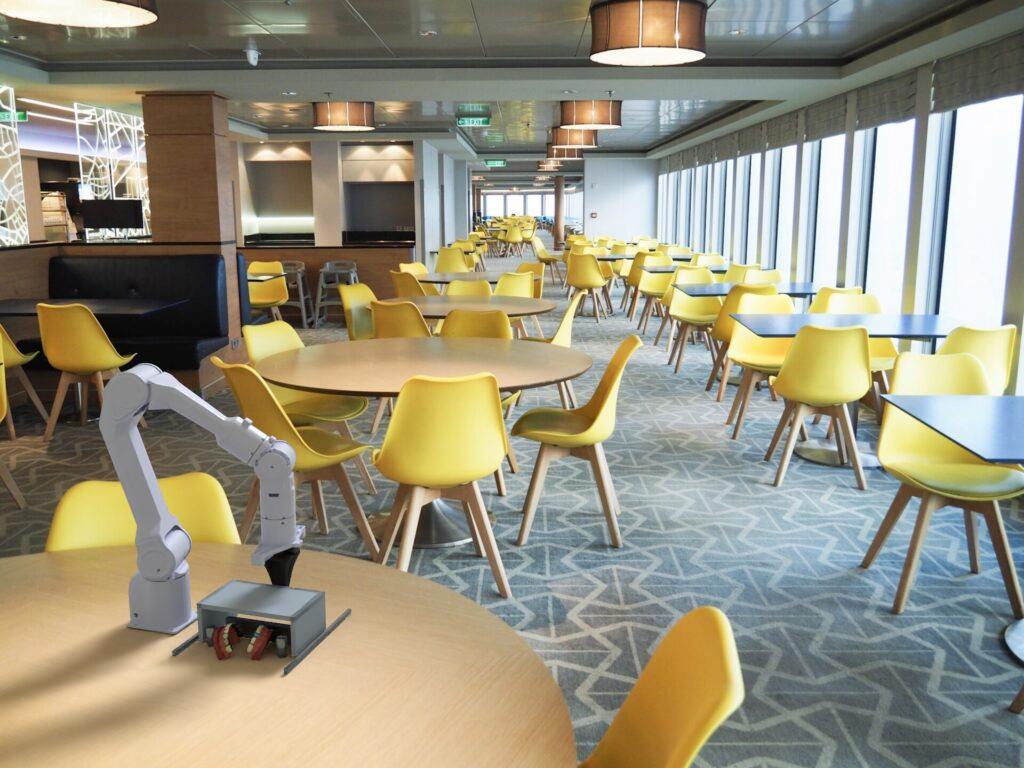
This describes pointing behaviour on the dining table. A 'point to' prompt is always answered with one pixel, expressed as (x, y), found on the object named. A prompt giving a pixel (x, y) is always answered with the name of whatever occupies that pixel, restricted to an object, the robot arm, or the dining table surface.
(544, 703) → the dining table surface
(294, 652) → the housing
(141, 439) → the robot arm
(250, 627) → the pin seat
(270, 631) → the dentures
